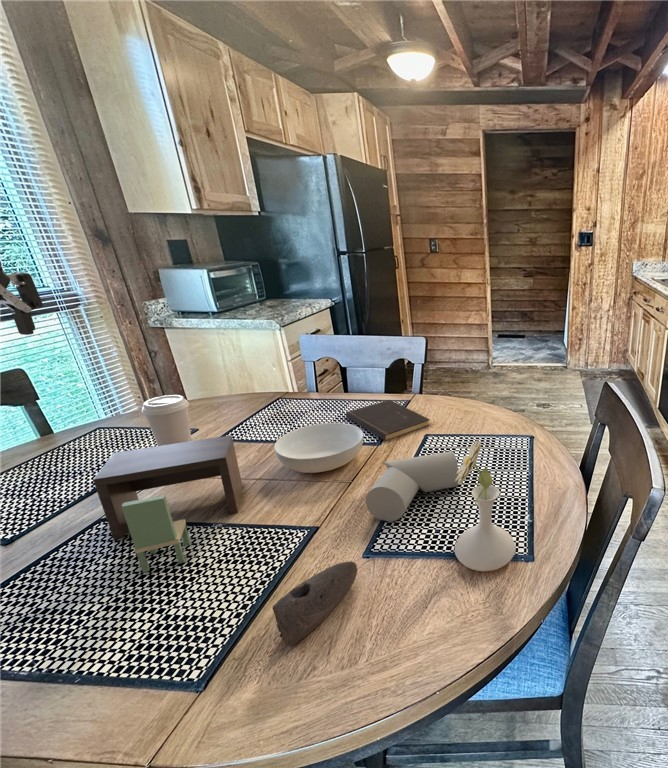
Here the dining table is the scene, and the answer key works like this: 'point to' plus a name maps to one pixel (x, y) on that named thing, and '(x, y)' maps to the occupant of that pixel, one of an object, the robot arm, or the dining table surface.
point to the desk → (165, 474)
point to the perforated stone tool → (312, 601)
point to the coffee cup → (168, 419)
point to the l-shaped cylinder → (410, 483)
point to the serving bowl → (319, 447)
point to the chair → (154, 528)
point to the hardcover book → (388, 419)
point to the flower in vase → (483, 524)
